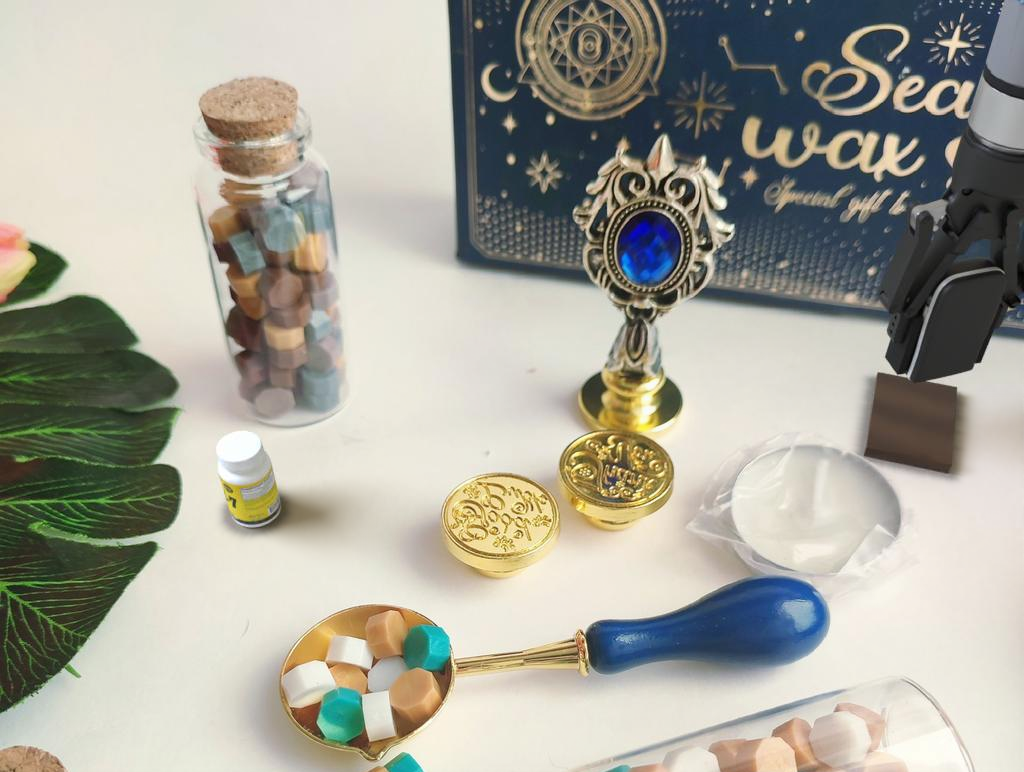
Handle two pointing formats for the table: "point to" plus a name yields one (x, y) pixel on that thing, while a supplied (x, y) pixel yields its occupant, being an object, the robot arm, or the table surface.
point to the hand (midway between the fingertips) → (932, 359)
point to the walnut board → (912, 422)
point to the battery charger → (956, 319)
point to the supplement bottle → (248, 479)
